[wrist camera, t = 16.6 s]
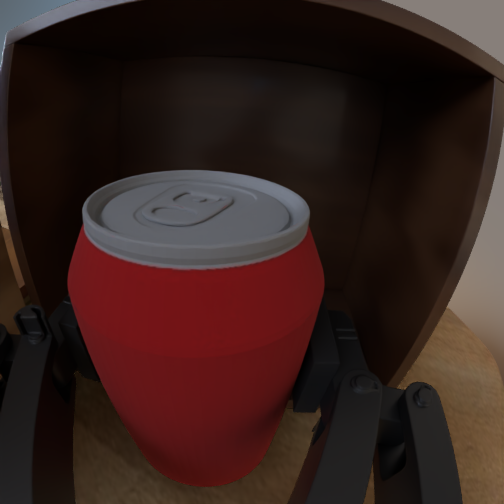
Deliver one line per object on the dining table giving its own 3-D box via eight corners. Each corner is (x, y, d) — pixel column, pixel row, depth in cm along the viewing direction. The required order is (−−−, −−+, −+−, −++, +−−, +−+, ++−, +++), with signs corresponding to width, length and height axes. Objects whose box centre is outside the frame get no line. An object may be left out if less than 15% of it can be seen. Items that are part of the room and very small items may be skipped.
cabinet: (383, 405, 17) (508, 67, 6) (58, 363, 16) (6, 32, 6) (346, 293, 29) (394, 77, 19) (123, 268, 29) (120, 54, 18)
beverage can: (284, 406, 14) (346, 189, 8) (241, 510, 8) (322, 335, 3) (176, 367, 16) (164, 159, 10) (114, 450, 10) (3, 217, 4)
